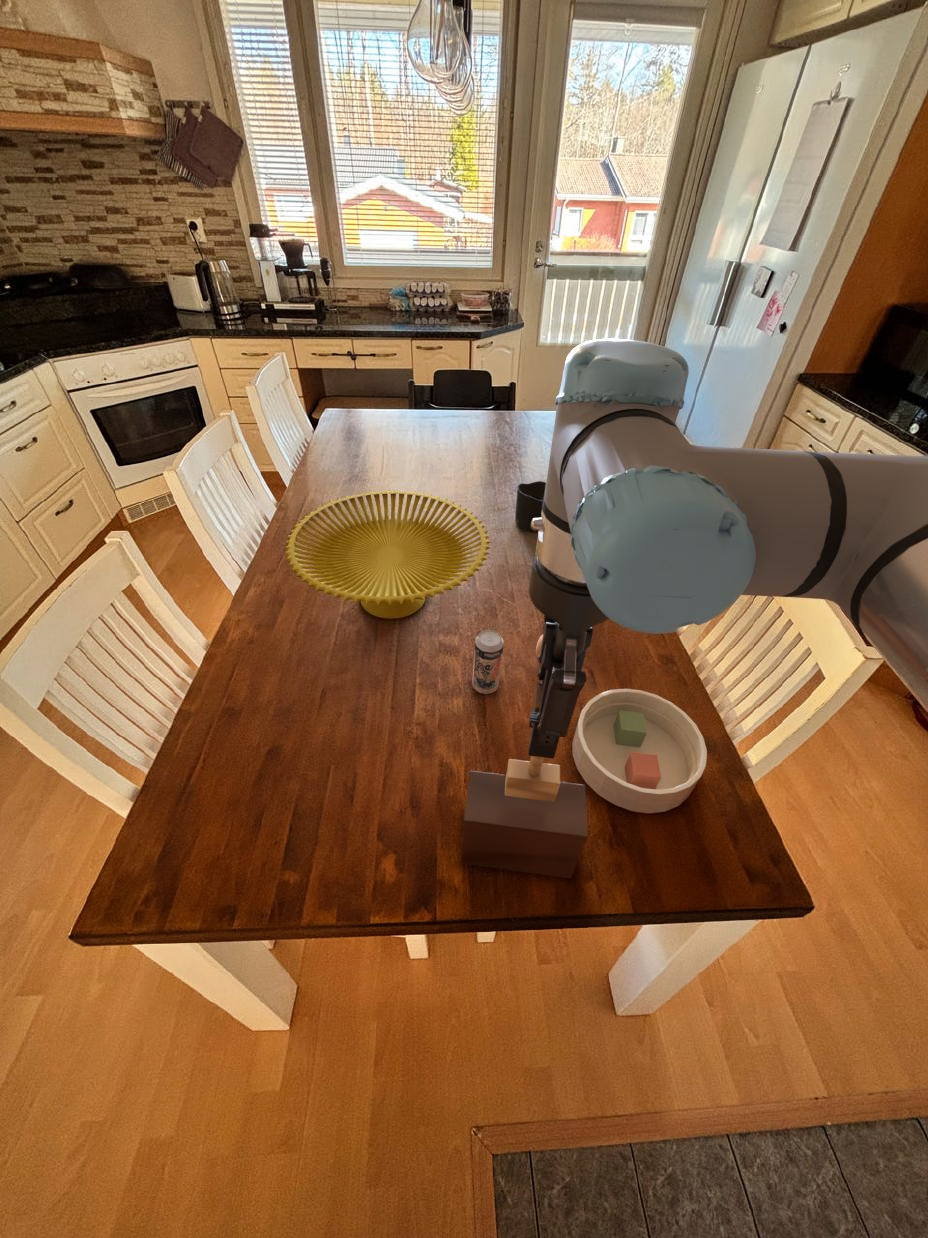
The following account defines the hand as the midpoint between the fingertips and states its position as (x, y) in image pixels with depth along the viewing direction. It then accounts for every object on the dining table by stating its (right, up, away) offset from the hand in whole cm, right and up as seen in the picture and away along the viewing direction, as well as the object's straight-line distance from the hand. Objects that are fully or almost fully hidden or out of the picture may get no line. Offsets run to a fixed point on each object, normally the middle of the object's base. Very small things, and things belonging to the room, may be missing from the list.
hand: (541, 739), depth 57 cm
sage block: (+19, -7, +31) cm, 37 cm away
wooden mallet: (0, -8, +7) cm, 10 cm away
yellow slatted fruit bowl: (-24, +18, +57) cm, 64 cm away
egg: (+8, +4, +44) cm, 45 cm away
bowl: (+19, -10, +29) cm, 36 cm away
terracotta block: (+19, -12, +25) cm, 34 cm away
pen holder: (+9, +38, +82) cm, 91 cm away
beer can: (-4, +1, +39) cm, 40 cm away
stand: (-1, -19, +17) cm, 25 cm away
